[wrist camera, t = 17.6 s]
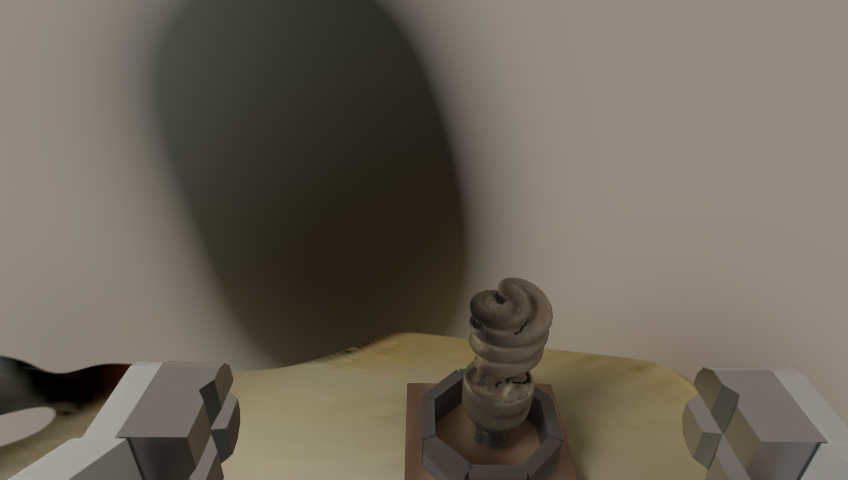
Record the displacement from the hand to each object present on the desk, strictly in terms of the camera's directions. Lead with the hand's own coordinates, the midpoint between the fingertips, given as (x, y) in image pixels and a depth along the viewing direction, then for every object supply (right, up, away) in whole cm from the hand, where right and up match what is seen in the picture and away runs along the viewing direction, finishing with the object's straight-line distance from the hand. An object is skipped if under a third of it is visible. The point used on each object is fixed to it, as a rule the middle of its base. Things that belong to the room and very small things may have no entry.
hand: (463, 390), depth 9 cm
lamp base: (+4, -15, +34) cm, 38 cm away
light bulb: (+5, -14, +34) cm, 37 cm away
